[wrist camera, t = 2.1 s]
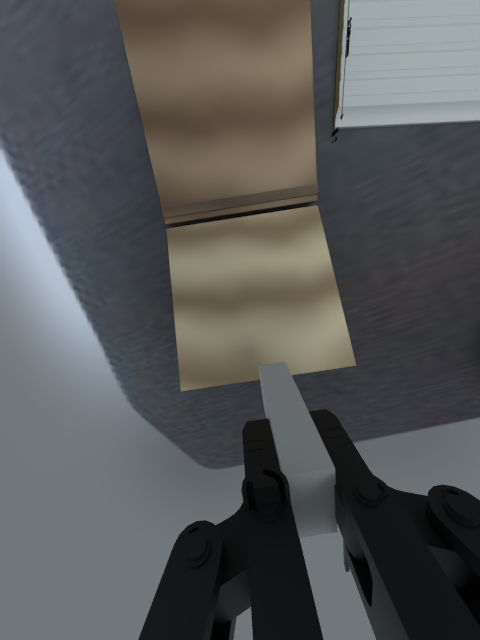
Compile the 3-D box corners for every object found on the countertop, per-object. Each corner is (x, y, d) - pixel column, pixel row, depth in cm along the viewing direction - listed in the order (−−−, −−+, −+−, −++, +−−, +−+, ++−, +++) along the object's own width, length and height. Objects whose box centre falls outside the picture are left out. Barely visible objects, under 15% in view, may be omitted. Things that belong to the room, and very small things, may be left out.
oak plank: (173, 240, 24) (166, 228, 22) (311, 218, 23) (317, 205, 21) (187, 389, 21) (180, 391, 19) (345, 365, 20) (356, 365, 19)
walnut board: (125, 24, 19) (111, -5, 16) (300, -5, 18) (310, -38, 16) (170, 225, 23) (164, 223, 21) (310, 203, 23) (318, 199, 21)
